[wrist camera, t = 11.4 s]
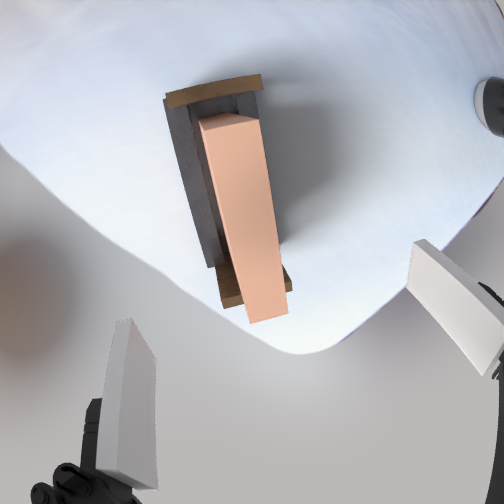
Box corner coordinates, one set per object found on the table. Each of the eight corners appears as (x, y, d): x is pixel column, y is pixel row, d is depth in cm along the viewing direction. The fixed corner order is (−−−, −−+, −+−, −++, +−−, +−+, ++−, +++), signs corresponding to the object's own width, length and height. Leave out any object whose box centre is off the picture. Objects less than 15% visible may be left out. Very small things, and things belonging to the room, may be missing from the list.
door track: (249, 81, 26) (273, 72, 18) (277, 245, 36) (301, 287, 29) (163, 99, 25) (151, 97, 18) (207, 263, 35) (214, 311, 28)
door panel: (227, 112, 26) (258, 119, 14) (251, 233, 34) (288, 313, 22) (198, 119, 26) (203, 130, 14) (226, 240, 33) (250, 323, 21)
